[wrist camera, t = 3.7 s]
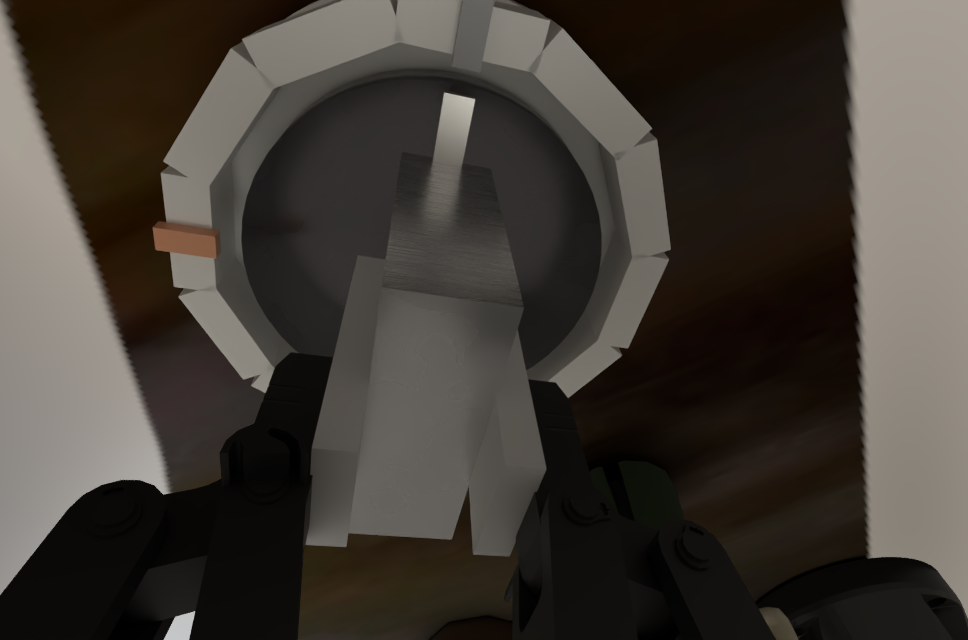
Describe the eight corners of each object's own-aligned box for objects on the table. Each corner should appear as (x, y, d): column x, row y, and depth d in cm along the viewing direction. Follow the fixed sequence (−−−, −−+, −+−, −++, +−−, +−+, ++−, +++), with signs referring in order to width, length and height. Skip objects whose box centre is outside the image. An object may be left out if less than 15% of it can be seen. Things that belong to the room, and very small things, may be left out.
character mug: (705, 424, 29) (858, 703, 19) (712, 500, 33) (841, 766, 23) (509, 474, 30) (549, 763, 20) (540, 542, 34) (586, 812, 24)
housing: (557, 376, 26) (582, 464, 22) (226, 335, 24) (179, 427, 19) (689, 34, 18) (771, 67, 14) (202, -90, 15) (109, -98, 11)
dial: (540, 386, 22) (586, 590, 15) (257, 353, 20) (165, 570, 13) (640, 112, 16) (793, 246, 9) (251, 26, 14) (78, 115, 7)
